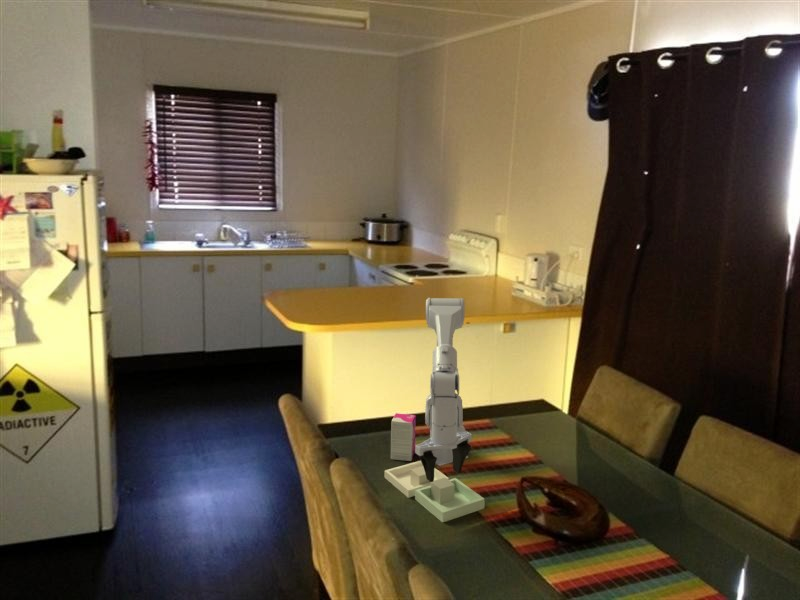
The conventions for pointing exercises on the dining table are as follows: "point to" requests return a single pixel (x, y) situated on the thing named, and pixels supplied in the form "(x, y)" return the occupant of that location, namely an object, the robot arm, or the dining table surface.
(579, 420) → the dining table surface
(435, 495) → the cream cube block
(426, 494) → the tub
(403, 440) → the supplement box
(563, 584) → the dining table surface
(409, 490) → the tray
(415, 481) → the ivory sharp-edged cube
